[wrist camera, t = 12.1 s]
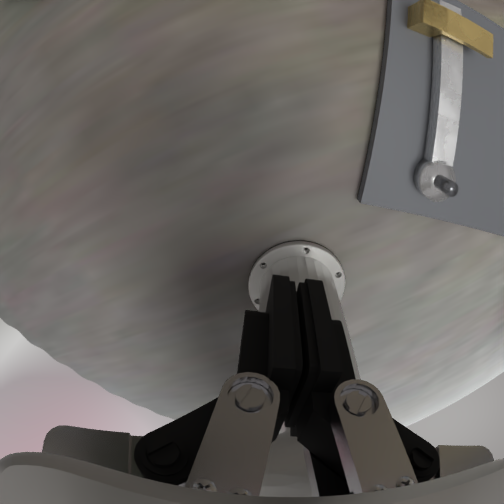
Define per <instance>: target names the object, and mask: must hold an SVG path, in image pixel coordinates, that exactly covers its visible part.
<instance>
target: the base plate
mask: <svg viewBox="0 0 504 504" xmlns="http://www.w3.org/2000/svg"><path fill="white" fill-rule="evenodd" d="M418 1H420V0H388V4H387V18H386V31H385V41H384V51H383V59H382V67H381V75H380V82H379V89H378V96H377V103H376V109H375V115H374V121H373V126H372V132H371V137H370V142H369V148H368V153H367V158H366V162H365V167H364V172H363V176H362V181H361V185H360V190H359V194H358V198H357V199H358V200H359V202H360V203H362V204H368V205H373V206H378V207H383V208H388V209H393V210H398V211H403V212H407V213H412V214H417V215H421V216H426V217H430V218H434V219H439V220H443V221H447V222H451V223H455V224H459V225H463V226H467V227H471V228H475V229H479V230H483V231H486V232H490V233H494V234H497V235H501V236H504V29H503V28H502V27H500V26H499V25H497V24H496V23H494V22H493V21H491V20H490V19H488V18H486V17H485V16H483V15H482V14H480V13H478V12H477V11H475V10H473V9H472V8H470V7H468V6H466V5H465V4H463V3H461V2H459V1H457V0H442V1H444V2H447V3H449V4H451V5H453V6H456V7H458V8H460V9H461V14H462V16H463V17H465V18H467V19H469V20H470V21H472V22H474V23H475V24H477V25H479V26H480V27H482V28H484V29H485V30H487V31H489V32H490V33H492V34H493V58H486V57H485V56H483V55H481V54H479V53H478V52H476V51H474V50H472V49H471V48H469V47H467V46H465V45H463V80H462V97H461V109H460V119H459V128H458V136H457V143H456V150H455V156H454V162H453V167H452V168H453V170H454V172H455V176H456V184H457V185H458V188H459V189H458V193H457V195H456V196H454V197H450V196H449V197H448V198H447V199H445V200H444V201H441V202H434V201H431V200H429V199H428V198H427V197H425V196H424V195H423V194H421V193H420V192H419V191H418V189H417V188H416V186H415V182H414V173H415V170H416V167H417V165H418V164H419V163H420V162H421V161H422V160H423V159H425V158H424V153H425V146H426V139H427V131H428V123H429V113H430V102H431V89H432V69H433V37H428V36H425V35H423V34H420V33H418V32H415V31H413V30H410V29H408V28H407V22H408V7H409V6H411V5H412V4H414V3H416V2H418ZM431 1H433V2H435V1H437V0H431Z"/></svg>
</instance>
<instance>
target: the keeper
mask: <svg viewBox="0 0 504 504" xmlns="http://www.w3.org/2000/svg"><path fill="white" fill-rule="evenodd" d="M407 28H408V29H410V30H413V31H415V32H418V33H420V34H423V35H425V36H428V37H434V36H437V35H441V34H443V35H445V36H447V37H449V38H451V39H453V40H455V41H457V42H459V43H461V44H463V45H465V46H467V47H469V48H471V49H472V50H474V51H476V52H478V53H479V54H481V55H483V56H485V57H486V58H493V34H492V33H490V32H489V31H487V30H485V29H484V28H482V27H480V26H479V25H477V24H475V23H474V22H472V21H470V20H469V19H467V18H465V17H463V16H461V15H459V14H458V13H456V12H454V11H452V10H450V9H448V8H446V7H444V6H442V5H440V4H438V3H436V2H433V1H431V0H420V1H418V2H416V3H414V4H412V5H411V6H409V7H408V22H407Z"/></svg>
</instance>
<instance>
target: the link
mask: <svg viewBox="0 0 504 504" xmlns="http://www.w3.org/2000/svg"><path fill="white" fill-rule="evenodd" d="M435 2H436V3H438V4H440V5H442V6H444V7H446V8H448V9H450V10H452V11H454V12H456V13H458V14H459V15H461V16H462V14H461V9H460V8H458V7H456V6H453V5H451V4H449V3H447V2H444V1H442V0H437V1H435ZM462 80H463V44H461V43H459V42H457V41H455V40H453V39H451V38H449V37H447V36H445V35H443V34H441V35H437V36H434V37H433V69H432V89H431V102H430V113H429V123H428V131H427V139H426V146H425V153H424V158H425V159H423V160H422V161H421V162H420V163H419V164H418V165H417V167H416V170H415V173H414V182H415V186H416V188H417V189H418V191H419V192H420V193H421V194H423V195H424V196H425V197H427V198H428V199H429V200H431V201H434V202H441V201H444V200H445V199H447V198H448V197H449V196H450V197H454V196H456V195H457V193H458V189H459V188H458V185H457V184H456V176H455V172H454V170H453V168H452V167H453V162H454V156H455V150H456V143H457V136H458V128H459V119H460V109H461V97H462Z"/></svg>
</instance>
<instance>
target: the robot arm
mask: <svg viewBox="0 0 504 504" xmlns="http://www.w3.org/2000/svg"><path fill="white" fill-rule="evenodd" d="M304 248H307V249H304ZM337 272H338V273H337ZM248 289H249V295H250V298H251V301H252V303H253V304H254V306H255V308H256V309H257V310H258V311H259V312H258V311H250V310H246V311H245V317H244V325H243V332H242V339H241V347H240V355H239V363H238V371H237V374H236V375H234V376H232V377H230V378H229V379H228V380H226V382H225V383H224V385H223V387H222V389H221V392H220V395H219V397H218V398H216V399H214V400H212V401H211V402H209V403H207V404H205V405H203V406H201V407H200V408H198V409H196V410H194V411H192V412H190V413H188V414H186V415H184V416H182V417H180V418H178V419H176V420H174V421H173V422H171V423H169V424H166V425H164V426H162V427H160V428H158V429H156V430H154V431H152V432H150V433H148V434H146V435H145V436H131V435H130V433H123V432H112V431H103V430H94V429H86V428H80V427H72V426H57V427H55V428H53V429H51V430H50V431H49V432H48V433H47V435H46V437H45V440H44V444H43V450H42V453H41V452H40V453H39V452H21V453H14V454H9V455H7V456H5V457H4V458H2V459H1V460H0V504H504V458H503V459H498V460H495V461H494V459H493V456H492V454H491V452H490V451H489V449H487V448H486V447H483V446H448V445H447V446H446V445H438V446H437V447H436V448H434V447H433V446H432V445H431V444H430V443H429V442H427V441H426V440H424V439H423V438H421V437H420V436H418V435H417V434H415V433H413V432H412V431H411V430H409V429H408V428H406V427H405V426H403V425H402V424H400V423H399V422H397V421H396V420H394V419H393V418H392V416H391V414H390V412H389V409H388V407H387V405H386V402H385V400H384V398H383V396H382V394H381V393H380V391H379V390H378V389H377V388H376V387H375V386H374V385H372V384H370V383H369V382H367V381H363V380H361V379H360V375H359V370H358V366H357V362H356V358H355V355H354V350H353V347H352V343H351V339H350V335H349V331H348V328H347V324H346V321H345V317H344V313H343V310H342V306H341V303H340V301H341V298H342V296H343V294H344V290H345V275H344V271H343V268H342V266H341V263H340V262H339V260H338V259H337V257H336V256H335V255H334V254H333V253H332V252H331V251H329V250H328V249H326V248H324V247H323V246H320V245H318V244H315V243H311V242H306V241H293V242H287V243H283V244H280V245H277V246H275V247H273V248H271V249H270V250H268V251H266V252H265V253H264V254H263V255H262V256H260V257H259V259H258V260H257V261H256V262H255V264H254V266H253V268H252V270H251V272H250V276H249V283H248ZM279 433H280V434H279Z"/></svg>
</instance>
